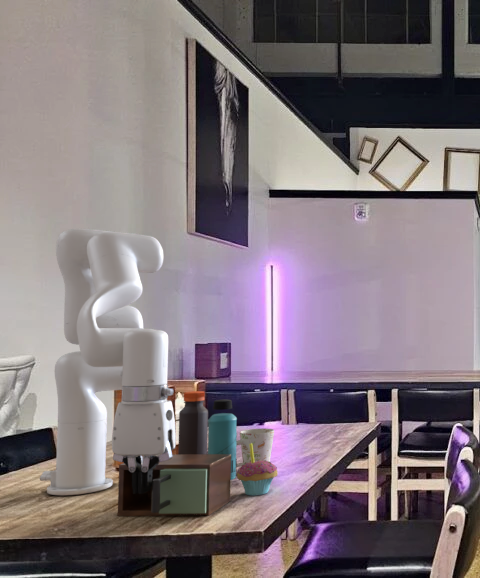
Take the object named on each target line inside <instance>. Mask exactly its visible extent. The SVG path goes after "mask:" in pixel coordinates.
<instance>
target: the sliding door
mask: <svg viewBox="0 0 480 578" xmlns="http://www.w3.org/2000/svg"><path fill="white" fill-rule="evenodd" d="M206 497H207V470H160V478H158V479H154V480H152V505H151V512H152V513H156V512H159V514H180V513H206Z"/></svg>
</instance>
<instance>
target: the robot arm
mask: <svg viewBox="0 0 480 578" xmlns="http://www.w3.org/2000/svg"><path fill="white" fill-rule="evenodd" d="M55 256H56V261H57V264H58V269H59V270H60V273H61V276H62V279H63V283H64V284H63V285H64V302H63V303H64V305H63V306H64V307H63V309H64V310H63V333H64V337H65V340H66V341H67V342H68V343H70V344H72V345H77V346H78V347H79V350H78V351H72V352H68V353H65V354H63V355H61V356H60V357H59V358H58V359H57V360H56V361H55V364H54V379H55V386H56V394H57V429H56V430H57V432H56V433H57V435H56V459H55V461H56V462H55V469H54V470H44V471H43V472H42V473H41V475H40V476H39V481H40V482H48V481H49V482H50V485H48V486H47V487H46V493H47V494H48V495H51V496H75V495H84V494H90V493H95V492H96V493H97V492H99V491H104V490H106V489H108V488H111V487H112V486H113V484H114V479H112V478H109V477H106V461H107V459H106V458H107V428H108V409H107V407H106V405H105V403H104V402H102V400H101V399H100V398H98V396H97V395H96V393H99V392H101V393H102V392H111V391H121V401H119V402H118V403H117V407H116V410H115V413H114V419H113V426H112V435H111V436H112V437H111V452H112V453H113V455H112V460H113V461H115V462H119V463H124V464H125V465H126V466H127V467H128V468H129V471H130V472H132V488H133V494H137V493H139V494H143V493H145V492H147V491H149V490H150V488H151V486H152V469H154V468H155V467H156V466H157V465H158V464H159V463H160V462H163V461H167V460H170V459H172V457H173V456H172V455H173V452H172V451H174V449H176V446H177V445H176V443H177V434H176V432H177V431H176V420H175V412H174V407H173V402H172V400H168V397H169V396H174V392H175V390H174V388H170V387H169V384H168V372H169V371H168V370H169V367H168V366H169V335H168V333H167V332H166V331H164V330H162V329H155V328H150V327H149V328H145V327H144V320H143V316H142V313H141V311H139V309H138V308H137V307H135V306H132V305H131V304H133V303H135V302H136V301H137V300H138V299H140V297H141V296H142V294H143V290H144V289H143V288H144V287H143V283H142V281H141V277H140V273H145V274H147V273H148V274H154V273H157V272H158V271H159V270H160V269H161V268H162V266H163V264H164V249H163V246H162V245H161V243H160V241H159V240H158V239H157V238H156V237H155V236H152V235H147V234H141V233H134V232H124V231H115V230H104V229H93V228H70V229H66V230H63V231H62V232H60V234H58V236H57V238H56V244H55ZM158 455H159V456H158ZM142 456H144V458H143V457H142Z"/></svg>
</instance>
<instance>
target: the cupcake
mask: <svg viewBox="0 0 480 578" xmlns="http://www.w3.org/2000/svg"><path fill="white" fill-rule="evenodd" d="M249 441H250V440H249ZM249 447H250V455H251V462H249V463H246V464H244V465H242V466H240V467H238V468H237V471H236V473H237V475H236V478H237V480H238V481H240V482H241V484H242V487H243V489H244V493H245V495H247V496H261V495H265V494H268V493H269V491H270V487H271V484H272V482H273V479H274V478H276V477H278V467H277V466H276V465H275V463H273V462H271V461H270V462H269V461H266V460H263V461H262V460H257V461H254V454H253V445H252V443H251V441H250V444H249Z"/></svg>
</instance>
